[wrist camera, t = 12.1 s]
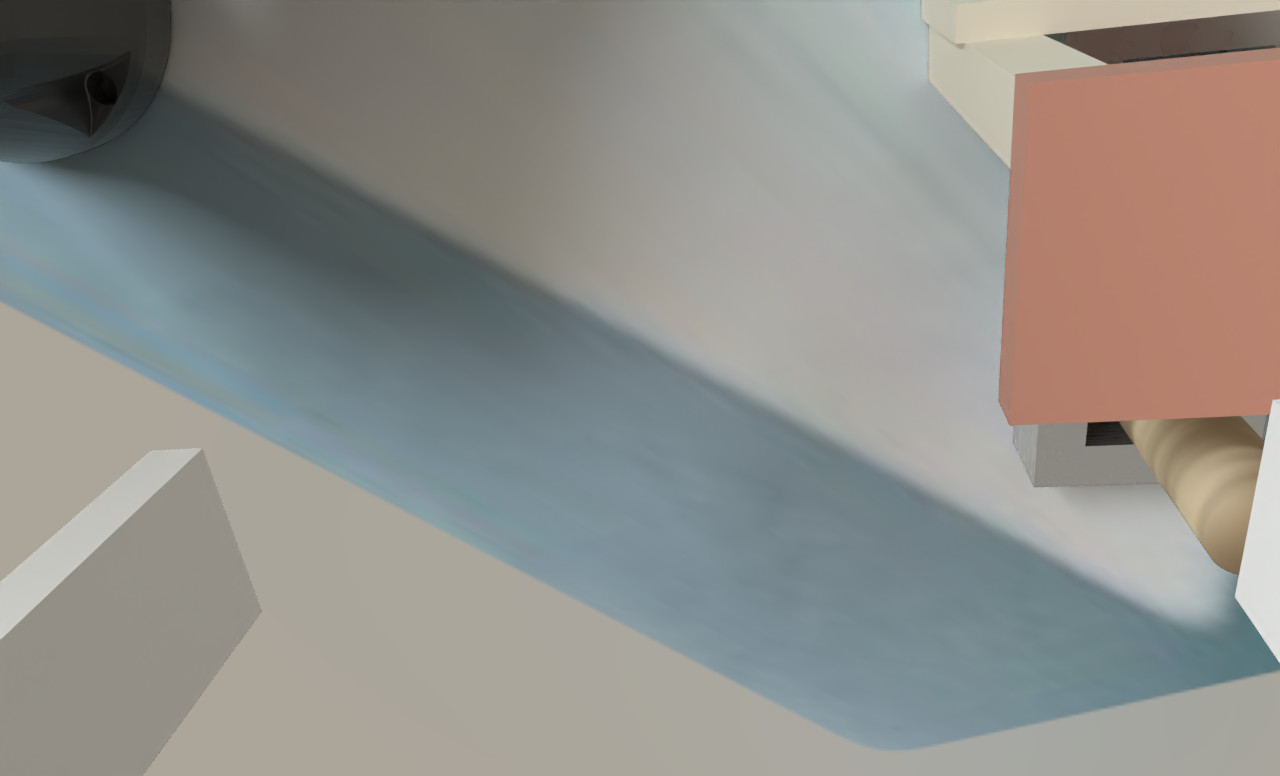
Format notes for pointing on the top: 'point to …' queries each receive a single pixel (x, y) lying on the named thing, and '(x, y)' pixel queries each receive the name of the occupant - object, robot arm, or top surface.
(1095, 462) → the socket
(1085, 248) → the pink-topped stool
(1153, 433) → the peg
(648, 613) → the top surface
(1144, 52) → the inner socket
